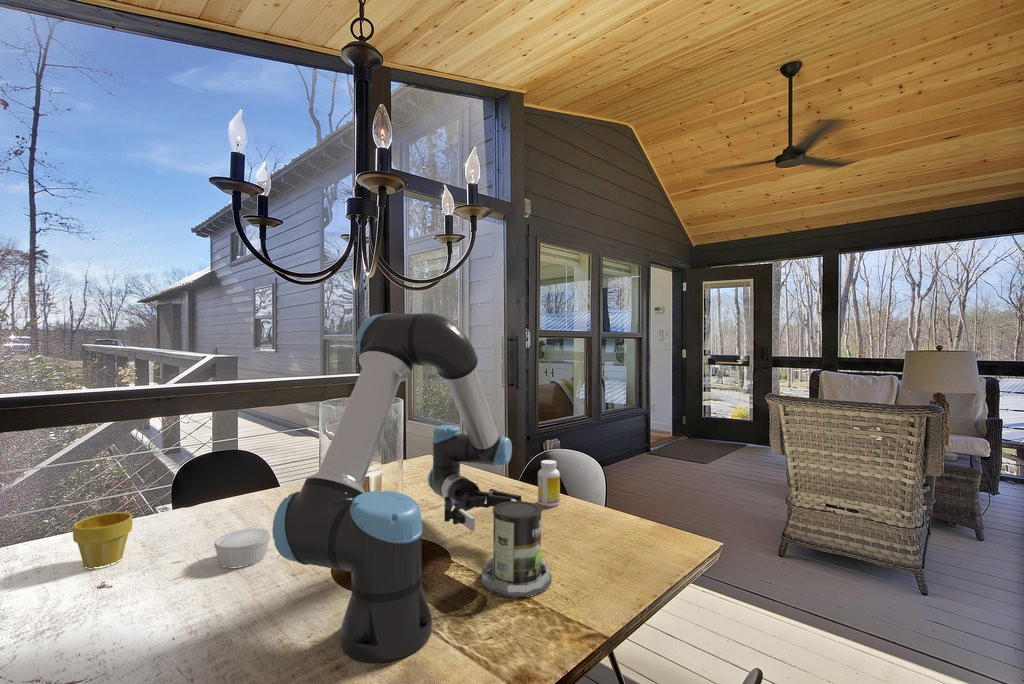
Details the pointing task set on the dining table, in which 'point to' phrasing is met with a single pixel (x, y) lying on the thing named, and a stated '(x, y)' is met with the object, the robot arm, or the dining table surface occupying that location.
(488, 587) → the shallow dark gray bowl
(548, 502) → the supplement bottle
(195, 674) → the dining table surface
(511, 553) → the coffee can
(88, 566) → the plant pot
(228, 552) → the ramekin
